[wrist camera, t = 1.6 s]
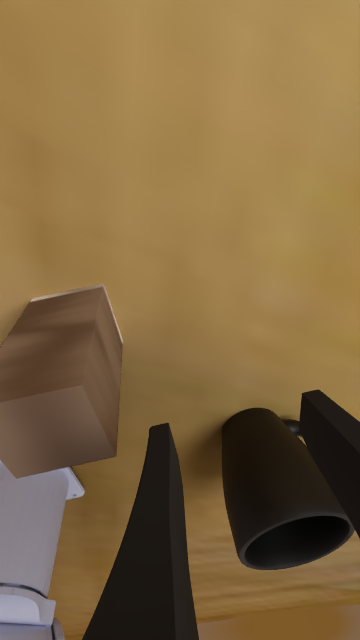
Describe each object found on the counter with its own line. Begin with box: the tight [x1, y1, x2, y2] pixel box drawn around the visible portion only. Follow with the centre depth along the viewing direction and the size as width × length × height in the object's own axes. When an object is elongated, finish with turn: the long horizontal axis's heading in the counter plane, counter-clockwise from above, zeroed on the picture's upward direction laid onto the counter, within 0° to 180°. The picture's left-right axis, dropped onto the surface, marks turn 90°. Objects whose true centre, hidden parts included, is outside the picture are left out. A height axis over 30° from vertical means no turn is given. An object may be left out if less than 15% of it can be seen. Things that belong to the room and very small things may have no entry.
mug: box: [222, 408, 355, 570], centre depth 24 cm, size 8×12×10 cm
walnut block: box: [0, 283, 123, 479], centre depth 16 cm, size 4×4×9 cm
